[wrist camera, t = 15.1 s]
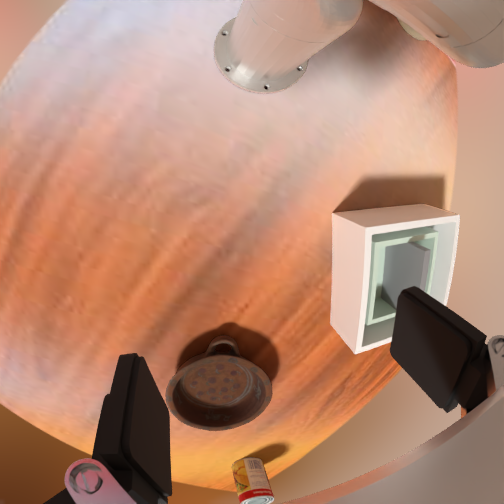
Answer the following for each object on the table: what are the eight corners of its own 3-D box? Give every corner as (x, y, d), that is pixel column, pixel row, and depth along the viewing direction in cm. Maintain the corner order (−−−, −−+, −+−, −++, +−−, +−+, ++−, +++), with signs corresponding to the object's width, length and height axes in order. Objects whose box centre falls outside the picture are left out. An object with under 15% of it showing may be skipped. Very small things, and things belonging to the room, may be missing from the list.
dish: (278, 331, 46) (287, 349, 41) (253, 418, 52) (258, 436, 47) (168, 324, 41) (166, 343, 37) (166, 416, 47) (166, 435, 43)
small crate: (352, 231, 41) (392, 252, 32) (414, 222, 44) (456, 239, 34) (349, 307, 46) (381, 339, 36) (407, 291, 48) (442, 316, 39)
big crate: (331, 212, 41) (365, 227, 32) (423, 203, 44) (460, 214, 36) (330, 323, 47) (354, 354, 39) (413, 299, 50) (442, 320, 42)
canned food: (228, 471, 58) (237, 508, 46) (235, 457, 56) (244, 497, 44) (257, 470, 60) (268, 506, 49) (266, 456, 58) (278, 494, 47)
